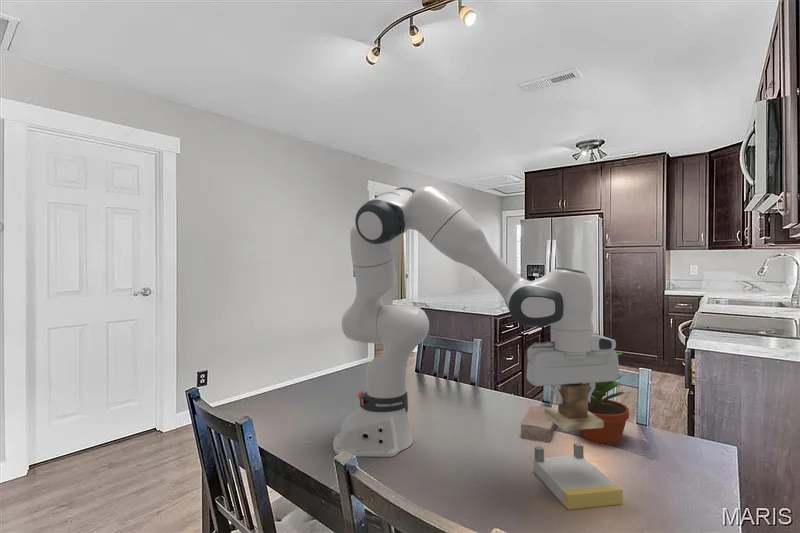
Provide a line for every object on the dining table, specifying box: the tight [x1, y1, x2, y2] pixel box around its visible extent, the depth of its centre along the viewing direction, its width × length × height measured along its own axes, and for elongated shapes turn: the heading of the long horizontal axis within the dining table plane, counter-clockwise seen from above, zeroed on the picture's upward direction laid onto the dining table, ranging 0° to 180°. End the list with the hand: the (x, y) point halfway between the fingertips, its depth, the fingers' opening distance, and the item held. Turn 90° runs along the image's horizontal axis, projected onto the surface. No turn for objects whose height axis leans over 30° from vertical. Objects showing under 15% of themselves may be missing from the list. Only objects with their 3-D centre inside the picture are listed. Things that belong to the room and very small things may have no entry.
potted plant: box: [579, 337, 630, 446], centre depth 121 cm, size 15×15×30 cm
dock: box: [533, 442, 624, 511], centre depth 96 cm, size 12×16×6 cm
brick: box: [520, 405, 557, 443], centre depth 127 cm, size 17×8×5 cm, turn 153°
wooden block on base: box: [544, 383, 604, 432], centre depth 95 cm, size 9×9×8 cm
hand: (572, 402), depth 95 cm, fingers closed on wooden block on base, 4 cm apart
